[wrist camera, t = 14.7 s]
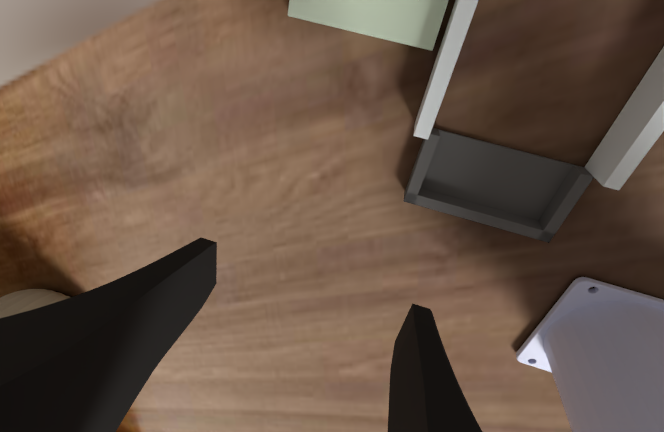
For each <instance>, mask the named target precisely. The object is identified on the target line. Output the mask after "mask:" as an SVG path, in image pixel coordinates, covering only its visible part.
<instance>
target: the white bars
mask: <svg viewBox="0 0 664 432" xmlns="http://www.w3.org/2000/svg"><path fill="white" fill-rule="evenodd" d="M477 3H478V0H455V3H454V6H453V9H452V12H451V15H450V18H449V21H448V24H447V27H446V30H445V33H444V36H443V39H442V42H441V45H440V48H439V51H438V54H437V57H436V60H435V63H434V66H433V69H432V72H431V75H430V78H429V82H428V85H427V88H426V91H425V94H424V97H423V100H422V103H421V106H420V109H419V112H418V115H417V118H416V121H415V126H414V135H413V136H416V137H419V138H423V139H427V140H428V138H429V136H430V133H431V130H432V127H433V125H434V122H435V119H436V116H437V114H438V111H439V108H440V105H441V102H442V100H443V97H444V94H445V91H446V89H447V86H448V83H449V80H450V78H451V75H452V72H453V69H454V67H455V64H456V61H457V58H458V56H459V53H460V50H461V47H462V44H463V42H464V39H465V36H466V33H467V31H468V28H469V25H470V22H471V20H472V17H473V14H474V11H475V9H476V6H477ZM663 131H664V47H663V48H662V50H661V51H660V53H659V54H658V56H657V57H656V59H655V60H654V62H653V63H652V65H651V66H650V68H649V69H648V71H647V72H646V74H645V76H644V77H643V79H642V80H641V82H640V83H639V85H638V86H637V88H636V89H635V91H634V92H633V94H632V95H631V97H630V98H629V100H628V101H627V103H626V105H625V106H624V108H623V109H622V111H621V112H620V114H619V115H618V117H617V118H616V120H615V121H614V123H613V124H612V126H611V127H610V129H609V130H608V132H607V134H606V135H605V137H604V138H603V140H602V141H601V143H600V144H599V146H598V147H597V149H596V150H595V152H594V153H593V155H592V156H591V158H590V159H589V161H588V162H587V164H586V166H585V167H584V168H585V169H586V170H587V171H588V172H589V173H590V174H591V175H592V176H593V177H594V178H595V179H596V180H597V181H598V182H599V183H600V184H601V185H602V186H604V187H607V188H611V189H615V190H620V189H621V187H622V186H623V185H624V183H625V182H626V181H627V179H628V178H629V177H630V175H631V174H632V172H633V171H634V170H635V168H636V167H637V166H638V164H639V163H640V162H641V160H642V159H643V158H644V156H645V155H646V154H647V152H648V151H649V150H650V148H651V147H652V146H653V144H654V143H655V142H656V140H657V139H658V138H659V136H660V135H661V134H662V132H663Z"/></svg>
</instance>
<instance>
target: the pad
mask: <svg viewBox="0 0 664 432" xmlns="http://www.w3.org/2000/svg"><path fill="white" fill-rule="evenodd" d="M448 1H449V0H289V8H288V16H290V17H294V18H298V19H302V20H307V21H311V22H315V23H319V24H323V25H327V26H331V27H336V28H340V29H344V30H348V31H352V32H356V33H360V34H364V35H369V36H373V37H377V38H381V39H385V40H389V41H393V42H398V43H402V44H406V45H410V46H414V47H418V48H422V49H427V50H431V51H433V48H434V45H435V41H436V38H437V35H438V32H439V29H440V26H441V23H442V20H443V17H444V13H445V10H446V7H447V4H448Z"/></svg>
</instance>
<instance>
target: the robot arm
mask: <svg viewBox="0 0 664 432" xmlns="http://www.w3.org/2000/svg"><path fill="white" fill-rule="evenodd" d="M216 252H217V242H213V241H210V240H207V239H204V238H199V239H197V240H195V241H193V242H191V243H190V244H188V245H186V246H184V247H182V248H180V249H178V250H176V251H174V252H173V253H171V254H169V255H167V256H165V257H163V258H161V259H159V260H157V261H155V262H153V263H151V264H149V265H147V266H145V267H143V268H141V269H139V270H137V271H135V272H132V273H130V274H128V275H126V276H124V277H121V278H119V279H117V280H115V281H113V282H110V283H108V284H105V285H103V286H100V287H98V288H95V289H93V290H90V291H87V292H85V293H82V294H79V295H77V296H74V297H71V298H68V299H65V300H62V301H58V302H55V303H52V304H49V305H46V306H43V307H40V308H36V309H33V310H29V311H26V312H22V313H18V314H15V315H11V316H7V317H3V318H0V432H116V430H117V428H118V427H119V425H120V423H121V422H122V420H123V418H124V417H125V415H126V413H127V412H128V410H129V409H130V407H131V405H132V404H133V402H134V400H135V399H136V397H137V396H138V394H139V392H140V391H141V389H142V388H143V386H144V385H145V383H146V381H147V380H148V378H149V377H150V375H151V374H152V372H153V371H154V369H155V368H156V366H157V365H158V364H159V362H160V361H161V359H162V358H163V357H164V356H165V354H166V353H167V352H168V350H169V349H170V348H171V347H172V345H173V344H174V343H175V341H176V340H177V339H178V338H179V336H180V335H181V334H182V333H183V331H184V330H185V329H186V327H187V326H188V325H189V324H190V322H191V321H192V320H193V318H194V317H195V316H196V315H197V313H198V312H199V311H200V309H201V308H202V306H203V305H204V303H205V302H206V300H207V298H208V297H209V295H210V293H211V292H212V290H213V288H214V286H215V285H216ZM590 287H594V288H593V289H589V288H590ZM516 357H517V360H518V361H519V362H521V363H524V364H527V365H530V366H534V367H537V368H540V369H543V370H546V371H549V372H552V374H553V377H554V380H555V383H556V386H557V388H558V391H559V394H560V397H561V400H562V403H563V406H564V409H565V412H566V415H567V418H568V421H569V424H570V426H571V429H572V432H664V300H663V299H659V298H656V297H652V296H649V295H646V294H642V293H639V292H635V291H632V290H628V289H625V288H621V287H618V286H615V285H611V284H608V283H604V282H601V281H597V280H594V279H591V278H587V277H579V278H577V279H575V280H574V281H573V282H572V283H571V285H570V286H569V287H568V288H567V290H566V291H565V292H564V293H563V295H562V296H561V297H560V298H559V300H558V301H557V302H556V303H555V305H554V306H553V307H552V309H551V310H550V311H549V312H548V314H547V315H546V316H545V317H544V319H543V320H542V321H541V322H540V324H539V325H538V326H537V327H536V329H535V330H534V331H533V332H532V334H531V335H530V336H529V337H528V339H527V340H526V341H525V342H524V344H523V345H522V346H521V347H520V349H519V350H518V351H517V353H516ZM388 432H482V430H481V429H480V427H479V425H478V423H477V421H476V419H475V417H474V415H473V413H472V411H471V409H470V407H469V405H468V403H467V401H466V399H465V397H464V395H463V393H462V390H461V388H460V386H459V384H458V382H457V379H456V377H455V375H454V372H453V370H452V367H451V365H450V362H449V360H448V357H447V355H446V352H445V349H444V347H443V344H442V341H441V338H440V335H439V332H438V330H437V326H436V323H435V320H434V317H433V314H432V311H431V310H430V309H428V308H425V307H422V306H419V305H415V304H412V306H411V308H410V310H409V312H408V315H407V317H406V319H405V321H404V323H403V325H402V328H401V330H400V332H399V334H398V336H397V338H396V341H395V345H394V351H393V357H392V364H391V372H390V393H389V417H388Z"/></svg>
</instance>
